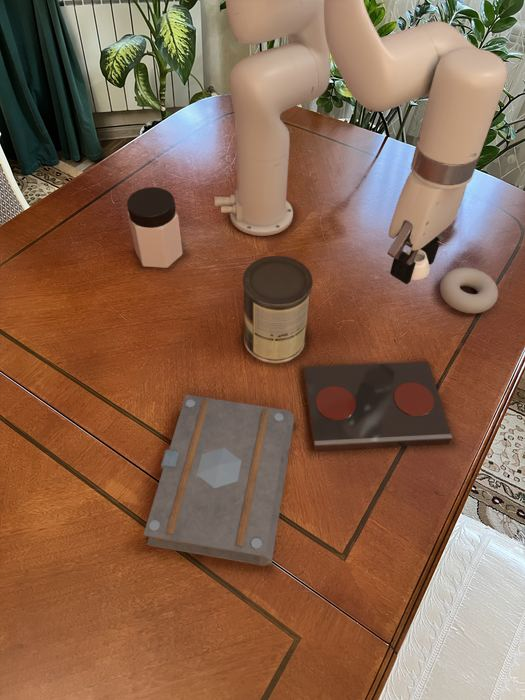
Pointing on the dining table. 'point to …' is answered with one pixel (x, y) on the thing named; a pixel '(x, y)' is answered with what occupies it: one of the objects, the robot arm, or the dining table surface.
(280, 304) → the coffee can
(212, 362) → the dining table surface
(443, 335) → the dining table surface
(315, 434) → the hob
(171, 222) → the jar
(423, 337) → the dining table surface
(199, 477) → the book
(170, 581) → the dining table surface
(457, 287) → the donut
